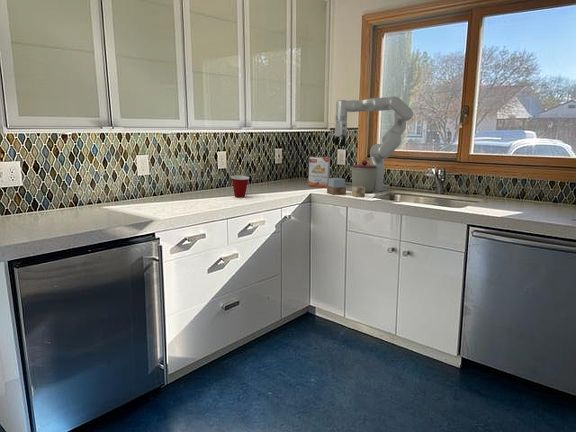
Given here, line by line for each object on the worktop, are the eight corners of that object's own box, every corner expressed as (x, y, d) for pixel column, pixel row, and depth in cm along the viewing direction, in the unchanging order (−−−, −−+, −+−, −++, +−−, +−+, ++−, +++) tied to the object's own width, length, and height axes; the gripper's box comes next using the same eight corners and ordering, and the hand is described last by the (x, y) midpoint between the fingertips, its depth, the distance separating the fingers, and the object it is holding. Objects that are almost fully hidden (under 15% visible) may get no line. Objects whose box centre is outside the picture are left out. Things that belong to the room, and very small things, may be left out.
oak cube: (359, 195, 277) (360, 186, 275) (364, 197, 271) (365, 187, 270) (351, 195, 275) (351, 186, 273) (355, 197, 269) (356, 187, 268)
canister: (369, 190, 304) (371, 159, 300) (381, 193, 287) (383, 161, 282) (344, 190, 299) (346, 159, 295) (355, 194, 282) (357, 161, 278)
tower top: (339, 185, 284) (340, 177, 283) (345, 187, 277) (345, 179, 276) (328, 185, 282) (328, 178, 281) (333, 187, 275) (333, 179, 274)
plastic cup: (235, 199, 249) (236, 177, 247) (227, 196, 258) (227, 175, 255) (252, 197, 255) (252, 177, 252) (243, 195, 264) (244, 175, 261)
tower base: (339, 193, 286) (339, 185, 285) (345, 195, 278) (346, 187, 277) (326, 193, 283) (327, 185, 282) (332, 195, 275) (333, 187, 274)
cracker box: (308, 186, 313) (309, 156, 309) (310, 185, 319) (311, 156, 315) (327, 187, 309) (328, 157, 305) (329, 186, 315) (330, 157, 311)
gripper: (352, 119, 283) (350, 146, 286) (340, 119, 299) (339, 145, 302) (341, 119, 280) (340, 146, 284) (330, 119, 296) (329, 144, 300)
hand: (339, 145), depth 293 cm, fingers open, 9 cm apart
